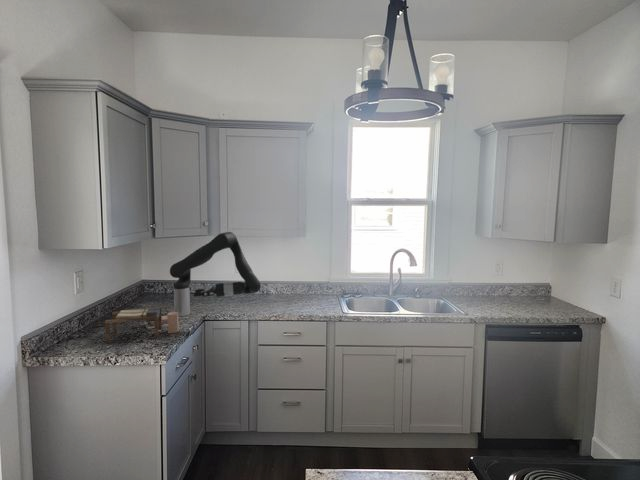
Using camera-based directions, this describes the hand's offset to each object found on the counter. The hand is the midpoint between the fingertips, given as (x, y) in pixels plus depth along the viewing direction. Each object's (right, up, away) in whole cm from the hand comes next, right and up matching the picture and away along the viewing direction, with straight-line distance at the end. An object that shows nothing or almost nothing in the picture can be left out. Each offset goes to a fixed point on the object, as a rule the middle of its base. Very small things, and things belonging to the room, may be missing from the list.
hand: (194, 293), depth 201 cm
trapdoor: (-27, -12, -8) cm, 31 cm away
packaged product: (-23, -20, +11) cm, 32 cm away
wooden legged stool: (-29, -21, -8) cm, 37 cm away
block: (-11, -21, -2) cm, 24 cm away
